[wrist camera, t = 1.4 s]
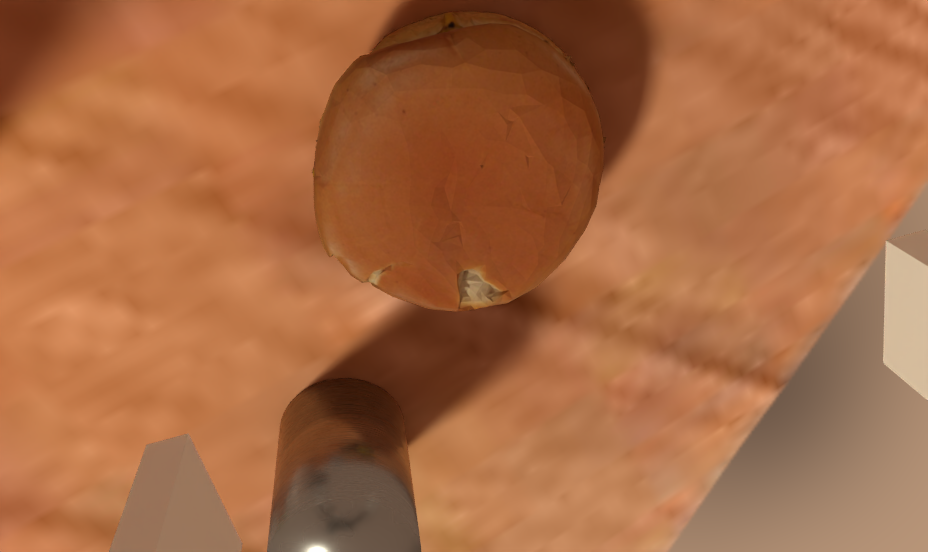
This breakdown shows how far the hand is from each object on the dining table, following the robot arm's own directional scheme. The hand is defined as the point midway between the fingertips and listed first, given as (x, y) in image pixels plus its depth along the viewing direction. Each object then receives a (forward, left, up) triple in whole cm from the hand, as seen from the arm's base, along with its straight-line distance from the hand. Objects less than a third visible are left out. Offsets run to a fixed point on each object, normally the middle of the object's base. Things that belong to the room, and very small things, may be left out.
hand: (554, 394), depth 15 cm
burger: (0, 0, -15) cm, 15 cm away
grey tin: (+10, -7, -15) cm, 19 cm away
